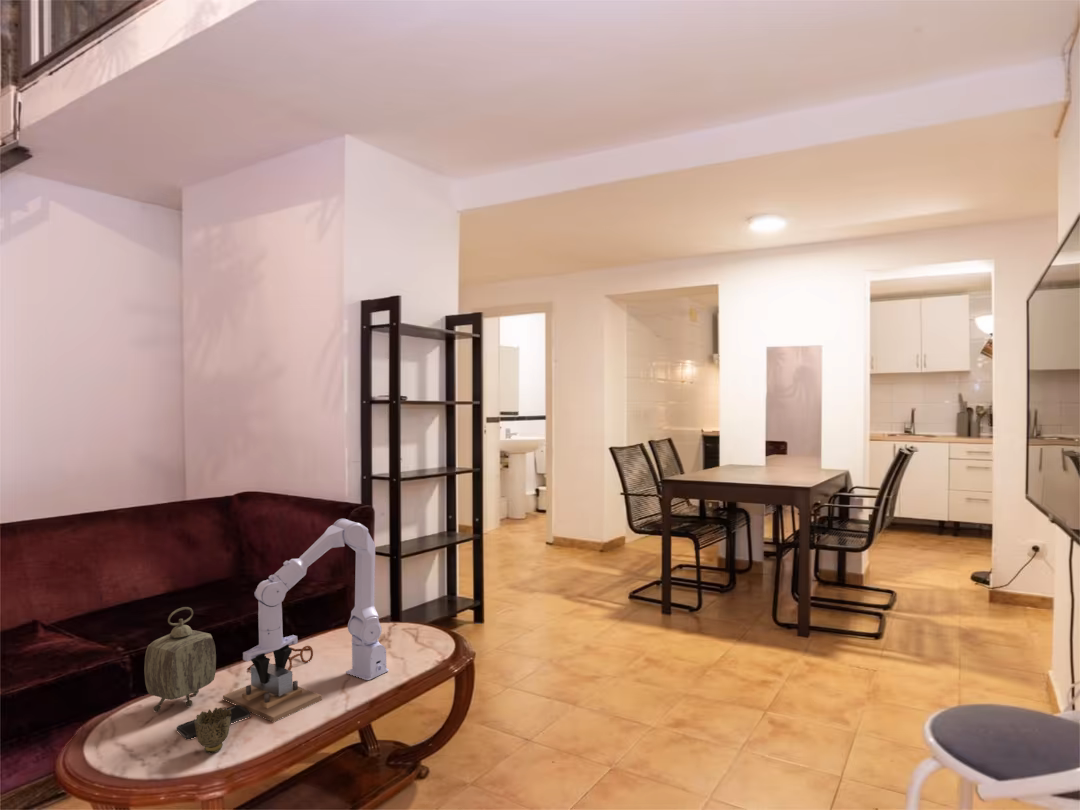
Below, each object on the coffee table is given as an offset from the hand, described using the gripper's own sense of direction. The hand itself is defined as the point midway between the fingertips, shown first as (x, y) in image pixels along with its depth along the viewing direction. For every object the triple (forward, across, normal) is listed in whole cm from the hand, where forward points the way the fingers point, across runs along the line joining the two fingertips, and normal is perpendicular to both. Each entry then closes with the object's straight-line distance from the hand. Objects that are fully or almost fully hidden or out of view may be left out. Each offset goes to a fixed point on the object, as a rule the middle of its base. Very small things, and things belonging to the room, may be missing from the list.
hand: (271, 679), depth 173 cm
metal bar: (+2, 0, 0) cm, 2 cm away
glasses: (+6, -16, -19) cm, 25 cm away
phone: (+6, +15, -1) cm, 16 cm away
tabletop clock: (+6, +14, -17) cm, 23 cm away
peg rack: (+5, 0, 0) cm, 5 cm away
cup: (+6, +22, +11) cm, 25 cm away
